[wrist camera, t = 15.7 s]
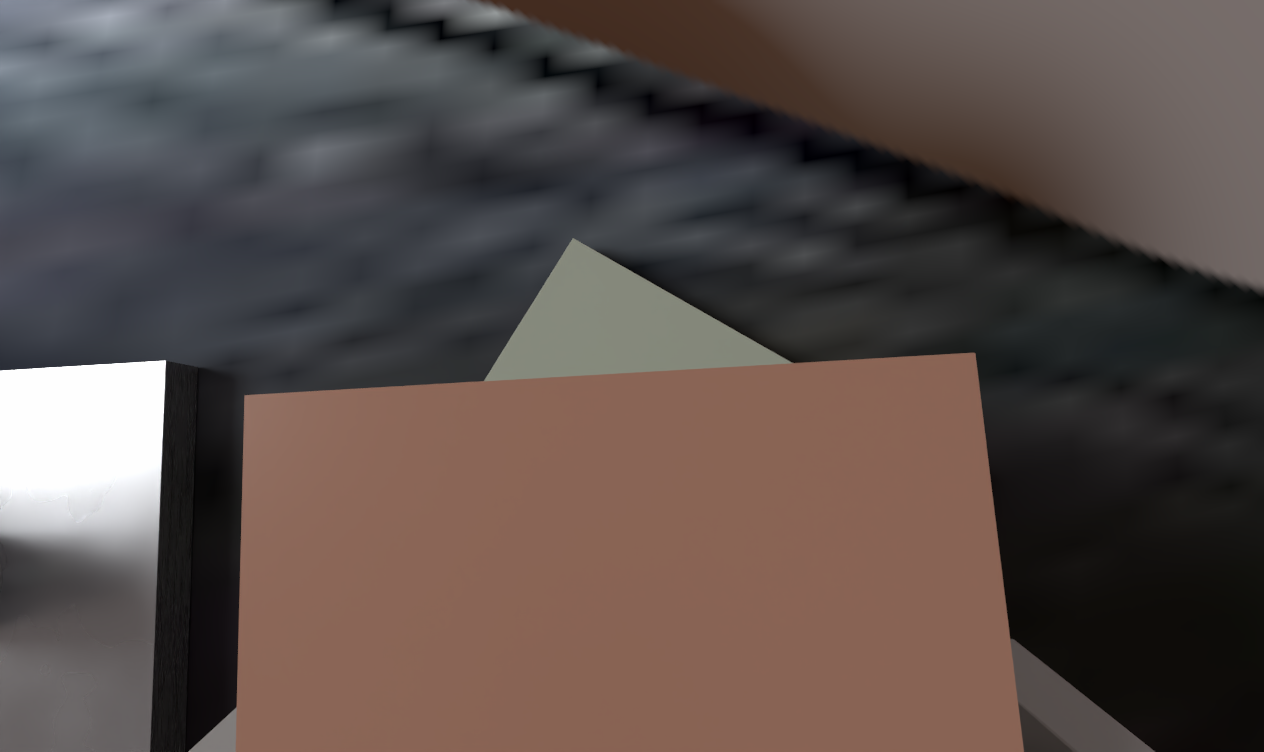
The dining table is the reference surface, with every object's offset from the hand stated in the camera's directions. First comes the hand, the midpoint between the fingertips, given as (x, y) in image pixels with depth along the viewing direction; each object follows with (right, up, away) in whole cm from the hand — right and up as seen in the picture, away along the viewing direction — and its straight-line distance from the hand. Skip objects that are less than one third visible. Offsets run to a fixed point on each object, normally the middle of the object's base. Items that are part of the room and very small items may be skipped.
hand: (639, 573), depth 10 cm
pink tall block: (0, -1, +5) cm, 5 cm away
